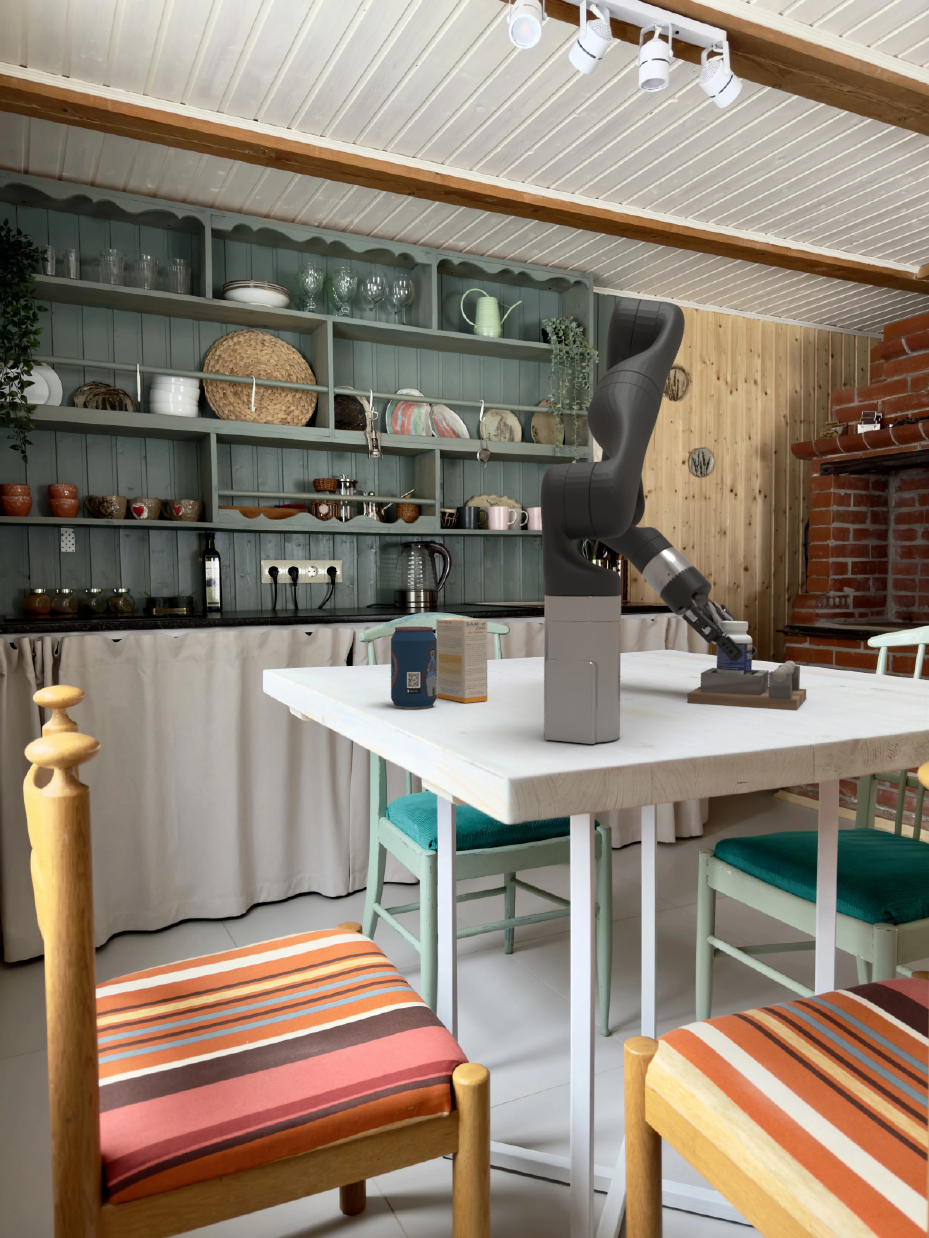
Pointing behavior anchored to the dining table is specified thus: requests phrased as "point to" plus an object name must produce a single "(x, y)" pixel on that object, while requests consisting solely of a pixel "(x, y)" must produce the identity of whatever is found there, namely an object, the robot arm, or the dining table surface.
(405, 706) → the soda can
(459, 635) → the supplement box
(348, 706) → the dining table surface
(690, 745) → the dining table surface
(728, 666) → the pill bottle
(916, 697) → the dining table surface
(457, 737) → the dining table surface
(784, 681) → the block
